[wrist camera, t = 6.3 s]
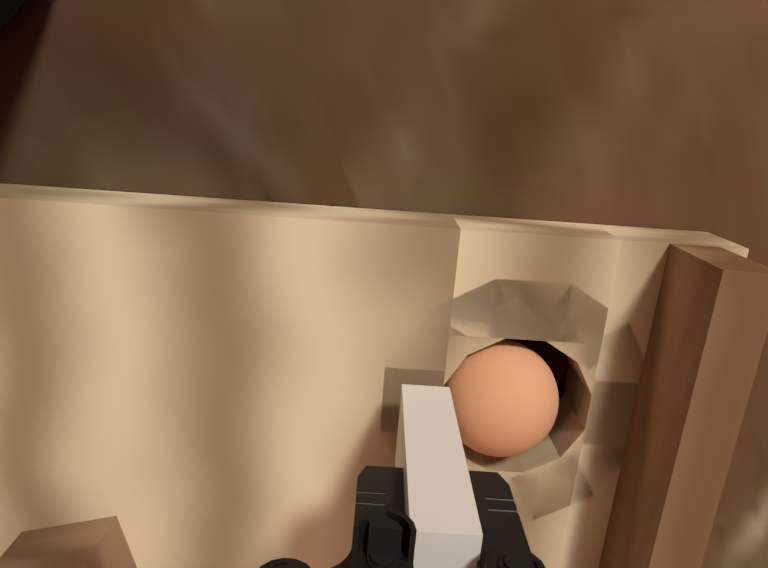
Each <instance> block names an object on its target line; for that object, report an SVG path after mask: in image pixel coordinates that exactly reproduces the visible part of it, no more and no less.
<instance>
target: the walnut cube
mask: <svg viewBox="0 0 768 568" xmlns="http://www.w3.org/2000/svg"><path fill="white" fill-rule="evenodd" d="M0 568H137V566H136V564H135V561H134V559H133V556H132V554H131V551H130V549H129V546H128V544H127V541H126V538H125V536H124V533H123V531H122V528H121V526H120V523H119V521H118V518H117V516H112V517H106V518H100V519H94V520H88V521H82V522H76V523H70V524H64V525H58V526H53V527H47V528H41V529H35V530H29V531H23V532H21V533H20V534H19V536H18V537H17V538H16V539H15V540H14V542H13V543H12V544H11V545H10V546H9V547H8V549H7V550H6V551H5V552H4V553H3V555H2V556H1V557H0Z"/></svg>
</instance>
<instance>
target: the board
mask: <svg viewBox="0 0 768 568" xmlns="http://www.w3.org/2000/svg"><path fill="white" fill-rule="evenodd" d="M748 251H749V249H748V248H745V247H743V246H740V245H738V244H735V243H733V242H730V241H728V240H725V239H723V238H720V237H718V236H715V235H713V234H710V233H708V232H700V231H686V230H671V229H657V228H642V227H628V226H613V225H599V224H584V223H570V222H555V221H541V220H526V219H511V218H497V217H482V216H468V215H453V214H439V213H424V212H410V211H395V210H381V209H366V208H352V207H337V206H323V205H308V204H294V203H279V202H265V201H250V200H236V199H221V198H207V197H192V196H177V195H163V194H148V193H134V192H119V191H105V190H90V189H76V188H61V187H47V186H32V185H18V184H3V183H0V557H1V556H2V555H3V553H4V552H5V551H6V550H7V549H8V547H9V546H10V545H11V544H12V543H13V542H14V540H15V539H16V538H17V537H18V536H19V534H20V533H21V532H23V531H29V530H35V529H41V528H47V527H53V526H58V525H64V524H70V523H76V522H82V521H88V520H94V519H100V518H106V517H112V516H117V518H118V521H119V523H120V526H121V528H122V531H123V533H124V536H125V538H126V541H127V544H128V546H129V549H130V551H131V554H132V556H133V559H134V561H135V564H136V566H137V568H259V567H260V566H261V565H263V564H265V563H267V562H269V561H271V560H275V559H280V558H293V559H298V560H300V561H302V562H304V563H307V564H308V565H309V566H310V567H311V568H331V567H334V566H335V565H337V564H339V563H341V562H342V561H343V560H344V559H345V558H346V557H347V556H348V554H349V553H350V551H351V548H352V538H353V526H354V516H355V502H356V489H357V477H358V475H359V474H360V473H361V471H362V470H363V469H364V468H365V466H382V467H395V455H396V444H397V432H398V421H399V410H400V399H401V387H402V384H408V385H423V386H439V387H443V386H444V384H445V383H446V382H447V381H448V379H449V378H450V377H451V375H452V374H453V373H454V372H455V370H456V369H457V368H458V366H459V365H460V364H461V363H462V361H463V360H464V359H465V357H466V356H467V355H469V354H471V353H473V352H476V351H478V350H480V349H482V348H485V347H487V346H489V345H492V344H494V343H496V342H498V341H501V340H503V339H520V340H535V341H546V342H548V343H549V344H551V345H552V346H554V347H555V348H557V349H558V350H560V351H561V352H563V353H565V355H566V357H567V360H568V362H569V366H568V372H567V378H566V383H565V389H564V394H563V396H562V397H561V398H560V400H559V407H558V413H557V416H556V419H555V422H554V425H553V427H552V428H551V430H550V432H549V433H548V435H547V436H546V437H545V438H544V439H543V440H542V441H541V442H540V443H539V444H538V445H537V446H535V447H534V448H532V449H531V450H529V451H527V452H524V453H522V454H519V455H515V456H510V457H494V456H488V455H484V454H482V453H479V452H476V451H474V450H473V449H471V448H469V447H468V446H466V445H465V444H464V443H462V445H463V449H464V453H465V458H466V462H467V467H468V471H483V472H498V473H499V474H500V475H501V477H502V478H503V479H504V480H505V481H506V482H507V483H508V484H509V486H510V489H511V492H512V495H513V498H514V501H515V504H516V507H517V513H519V516H520V520H521V523H522V526H523V529H524V532H525V535H526V538H527V541H528V544H529V547H530V550H531V553H533V554H534V555H535V556H536V557H538V558H539V559H540V560H541V561H542V562H543V564H544V566H545V567H546V568H701V564H702V561H703V557H704V554H705V550H706V547H707V543H708V540H709V536H710V533H711V529H712V526H713V522H714V519H715V515H716V511H717V508H718V504H719V501H720V497H721V494H722V490H723V487H724V483H725V480H726V476H727V473H728V469H729V466H730V462H731V459H732V455H733V452H734V448H735V445H736V441H737V437H738V434H739V430H740V427H741V423H742V420H743V416H744V413H745V409H746V406H747V402H748V399H749V395H750V392H751V388H752V385H753V381H754V378H755V374H756V371H757V367H758V363H759V360H760V356H761V353H762V349H763V346H764V342H765V339H766V335H767V332H768V267H766V266H764V265H761V264H759V263H757V262H754V261H752V260H750V259H747V255H748Z"/></svg>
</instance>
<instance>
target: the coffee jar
mask: <svg viewBox="0 0 768 568" xmlns="http://www.w3.org/2000/svg"><path fill="white" fill-rule="evenodd" d="M23 2H24V0H0V27H2V26H3V25H5V24H6V23H8V22H9V21H10V20H11V19H12V17H13V16H14V14H15V13H16V12H17V10H18V9H19V7H20V6H21V5H22V3H23Z"/></svg>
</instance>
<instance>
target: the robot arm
mask: <svg viewBox="0 0 768 568" xmlns="http://www.w3.org/2000/svg"><path fill="white" fill-rule="evenodd" d="M259 568H311V567H310V566H309V565H308V564H307V563H304V562H302V561H300V560H298V559H293V558H280V559H275V560H271V561H269V562H267V563H265V564H263V565H261V566H260V567H259ZM331 568H546V567H545V566H544V564H543V562H542V561H541V560H540V559H539V558H538V557H536V556H535V555H534V554H533V553H531V550H530V547H529V544H528V541H527V538H526V535H525V532H524V529H523V526H522V523H521V520H520V516H519V513H517V507H516V504H515V501H514V498H513V495H512V492H511V489H510V486H509V484H508V483H507V482H506V481H505V480H504V479H503V478H502V477H501V475H500V474H499V473H498V472H483V471H468V467H467V462H466V458H465V453H464V449H463V445H462V440H461V436H460V431H459V427H458V422H457V418H456V414H455V409H454V405H453V400H452V396H451V391H450V387H439V386H423V385H408V384H402V387H401V399H400V410H399V421H398V432H397V444H396V455H395V467H382V466H365V468H364V469H363V470H362V471H361V473H360V474H359V475H358V477H357V489H356V502H355V516H354V526H353V538H352V548H351V551H350V553H349V554H348V556H347V557H346V558H345V559H344V560H343V561H342V562H341V563H339V564H337V565H335V566H334V567H331Z"/></svg>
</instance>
